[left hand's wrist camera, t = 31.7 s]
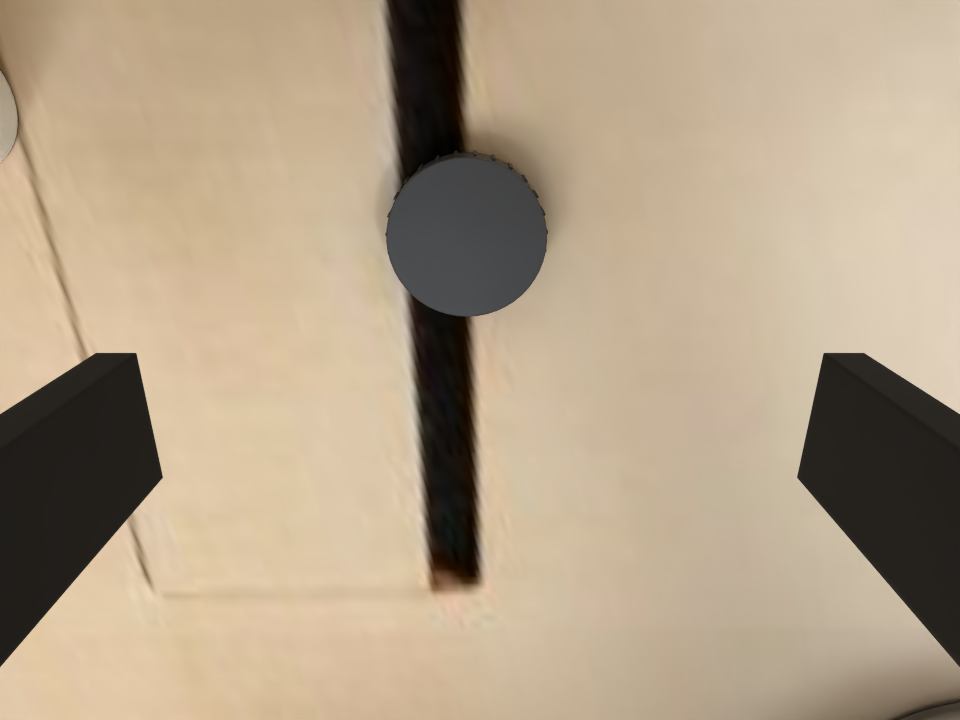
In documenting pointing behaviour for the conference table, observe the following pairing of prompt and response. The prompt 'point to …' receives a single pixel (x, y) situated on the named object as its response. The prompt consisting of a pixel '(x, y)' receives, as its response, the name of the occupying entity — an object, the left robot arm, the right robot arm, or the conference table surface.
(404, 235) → the lid
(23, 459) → the left robot arm
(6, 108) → the jar
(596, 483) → the conference table surface
